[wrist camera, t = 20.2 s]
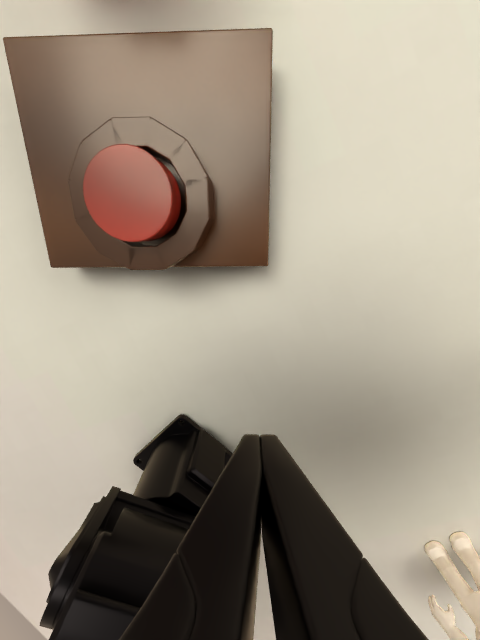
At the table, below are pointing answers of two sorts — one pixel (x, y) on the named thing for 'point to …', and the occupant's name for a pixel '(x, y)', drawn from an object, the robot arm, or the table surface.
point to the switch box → (151, 138)
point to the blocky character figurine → (456, 583)
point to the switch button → (131, 194)
